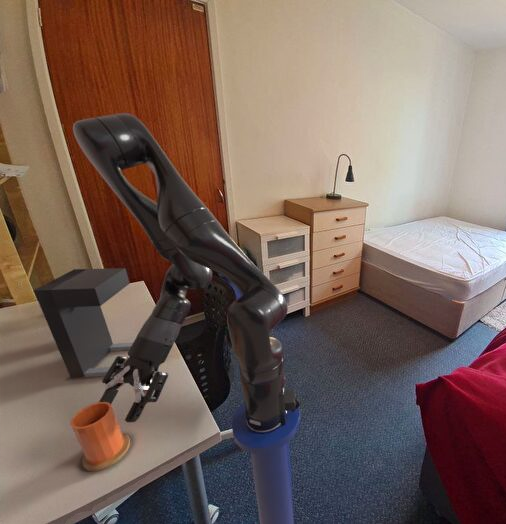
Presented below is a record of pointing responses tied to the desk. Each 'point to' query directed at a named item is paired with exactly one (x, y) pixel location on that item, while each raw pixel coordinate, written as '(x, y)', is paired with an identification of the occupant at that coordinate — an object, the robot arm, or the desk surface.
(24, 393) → the desk surface
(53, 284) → the coffee maker
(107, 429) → the cup
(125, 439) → the coaster
